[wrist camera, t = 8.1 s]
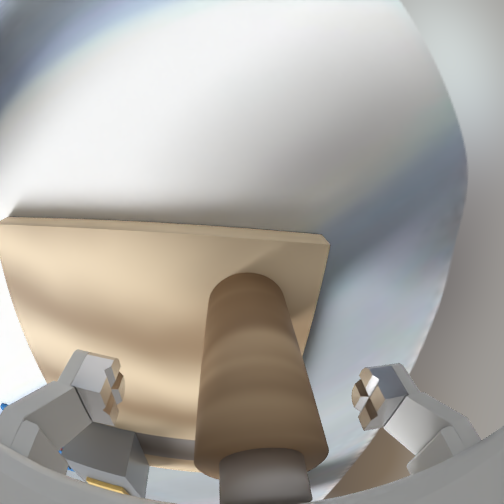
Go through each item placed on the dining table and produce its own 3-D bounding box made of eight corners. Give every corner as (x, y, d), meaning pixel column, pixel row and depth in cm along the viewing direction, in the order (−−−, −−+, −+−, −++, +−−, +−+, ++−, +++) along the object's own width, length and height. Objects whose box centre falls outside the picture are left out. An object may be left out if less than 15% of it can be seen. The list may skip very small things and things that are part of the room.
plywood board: (7, 216, 10) (-7, 224, 9) (322, 234, 12) (331, 245, 11) (94, 442, 19) (91, 452, 18) (260, 463, 20) (261, 473, 19)
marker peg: (209, 269, 11) (185, 485, 3) (290, 274, 11) (363, 473, 4) (207, 333, 12) (196, 516, 4) (278, 336, 12) (316, 511, 5)
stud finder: (75, 416, 15) (58, 460, 11) (134, 431, 15) (124, 482, 11) (99, 453, 18) (90, 490, 14) (149, 465, 18) (144, 505, 14)
